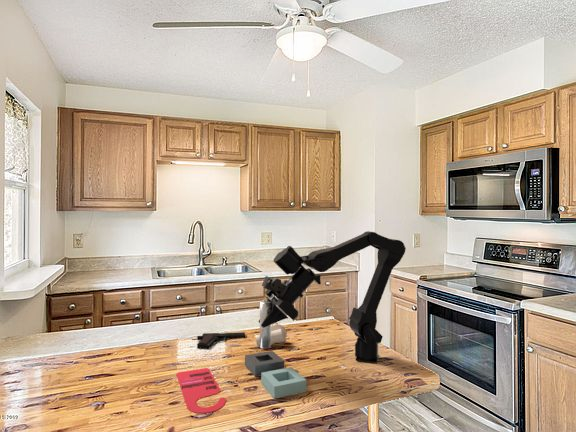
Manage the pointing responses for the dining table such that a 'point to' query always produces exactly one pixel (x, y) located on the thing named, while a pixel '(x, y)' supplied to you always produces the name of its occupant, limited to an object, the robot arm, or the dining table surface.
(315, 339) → the dining table surface
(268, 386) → the block
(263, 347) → the steel pin
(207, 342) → the handgun
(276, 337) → the toilet paper hanger
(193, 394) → the door hanger
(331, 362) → the dining table surface
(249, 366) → the socket block
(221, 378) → the dining table surface
